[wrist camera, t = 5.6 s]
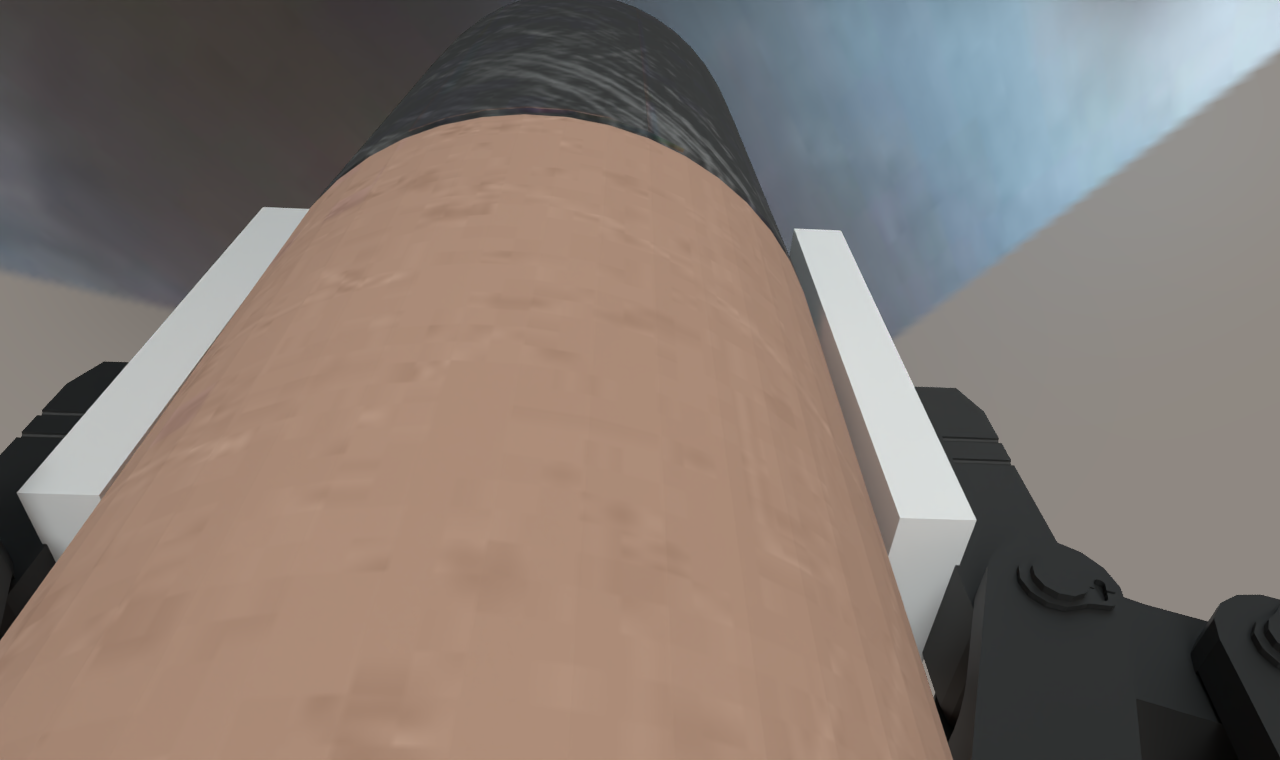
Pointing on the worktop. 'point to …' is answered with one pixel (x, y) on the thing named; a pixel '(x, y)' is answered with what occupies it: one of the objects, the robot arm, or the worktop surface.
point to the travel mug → (497, 461)
